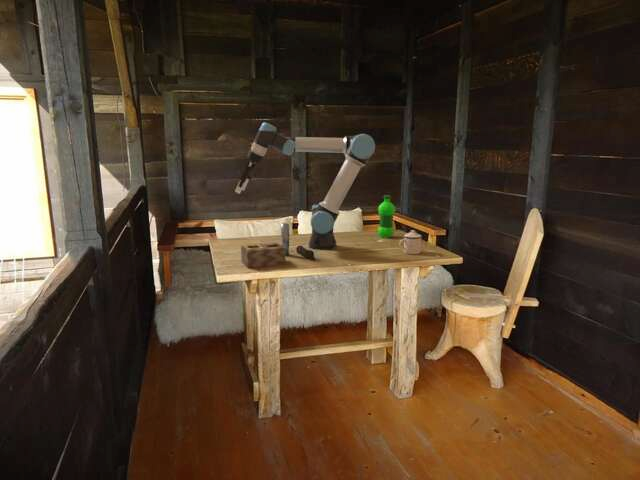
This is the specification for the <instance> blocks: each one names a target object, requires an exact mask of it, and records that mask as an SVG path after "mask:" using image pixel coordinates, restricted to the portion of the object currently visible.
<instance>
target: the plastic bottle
mask: <svg viewBox="0 0 640 480" xmlns="http://www.w3.org/2000/svg"><path fill="white" fill-rule="evenodd" d="M383 199H384V201H383V202H381V203H380V204H379V206H378V208H377V211H378V212H377V213H378V214H379V226H378V228H377V233H378V235H379V236H380V237H381V238H383V237H390V238H391V237H392V236H394V234H395V229H394V226H393V225H394V215H395V213H396V207H395V205H394V204H393V203H392V202H391V201H390V200H391V199H392V196H391V195H388V194H387V195H386V194H385V195H383Z"/></svg>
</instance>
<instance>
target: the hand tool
mask: <svg viewBox="0 0 640 480" xmlns="http://www.w3.org/2000/svg"><path fill="white" fill-rule="evenodd" d="M295 250H296V253H297V254H300V255H302V256H304V257H306V259H307V260H308V259H309V261H313V262H314V260H315V259H314V258H315V252H314V251H313V250H311V249H307V248H306V247H304V246H303V245H298V246H296V247H295Z"/></svg>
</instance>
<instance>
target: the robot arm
mask: <svg viewBox="0 0 640 480" xmlns="http://www.w3.org/2000/svg"><path fill="white" fill-rule="evenodd" d="M250 145H251V147H250V150H249V151H248V153H247V156H246V157H247V158H248V159H250V161H248V162H247V164H246V166H245V168H244V171H243V172H242V174H241V177H239V178H238V180H239V181H238V183H237V185H236V188H235V190H234V192H235V193H237V194H239V195H240V194H241V192H242V191H245V189H246V187H247V185H248V183H249V180H250V181H251V180H252V174H253V173H254V170H255V168H256V167H257V163H258V164H261V163H262V162H263V159H264V156H266V153H267V150H268V148H269V147H271V148H273V149H274V150H277V151H279V152H281V153H283V154H285V155H287V156H292V154H293V152H295V153H296V152H297V153H300V152H301V153H304V152H305V153H333V154H335V153H336V154H338V153H339V154H341V153H342V154H344V156H345V160H344V162H343V164H342V165H341V167H340V169H339V172H338V173H337V176H336V177H335V179H334V181H333V183H332V185H331V187H330V188H329V190H328V192H327V193H326V196H325V197H324V199H323V201H321V202H319V203H318V204H313V205H312V206H311V217H310V226H311V234H310V237H309V240H308V247H309V248H310V249H313V250H331V249H336V248H337V240H336V237H335V234H334V228H335V227H334V225H335V223H336V221H337V219H338V218H339V215H340V210H339V209H340V207H341V206H342V204H343V201H344V200H345V197H346V196H347V194H348V192H349V191H350V189H351V186H352V185H353V183H354V181H355V180H356V177H357V175H358V174H359V172H360V171H361V168H363V167H366V165H367V164H368V161H369V159H370V158H371V157H372V156H373V155H374V153H375V149H376V144H375V141H374V139H373V137H372V136H371V135H369V134H366V133H360V134H356V135H345V136H344V137H316V136H315V137H313V136H312V137H309V136H307V137H306V136H305V137H304V136H285V135H283V134H280V133H278V132H277V127H275V125H274V126H273V125H272V124H270V123H268V122H262V123H261V126H260V128H259V129H258V131H257V133H256V136H255V137H254V140H253V143H250Z"/></svg>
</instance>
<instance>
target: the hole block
mask: <svg viewBox="0 0 640 480" xmlns="http://www.w3.org/2000/svg"><path fill="white" fill-rule="evenodd" d="M240 255H241V256H240V259H241V261H240V262H241V263H242V264H243V265H244V266H245V267H246V268H247V269H251V268H253V269H254V268H260V267H261V268H263V267H264V268H265V267H274V266H285V265H286V256H285V247H283V246H282V245H281V243H279V242H270V243H267V242H266V243H257V244H244V245H243V244H242V245H240Z"/></svg>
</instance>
